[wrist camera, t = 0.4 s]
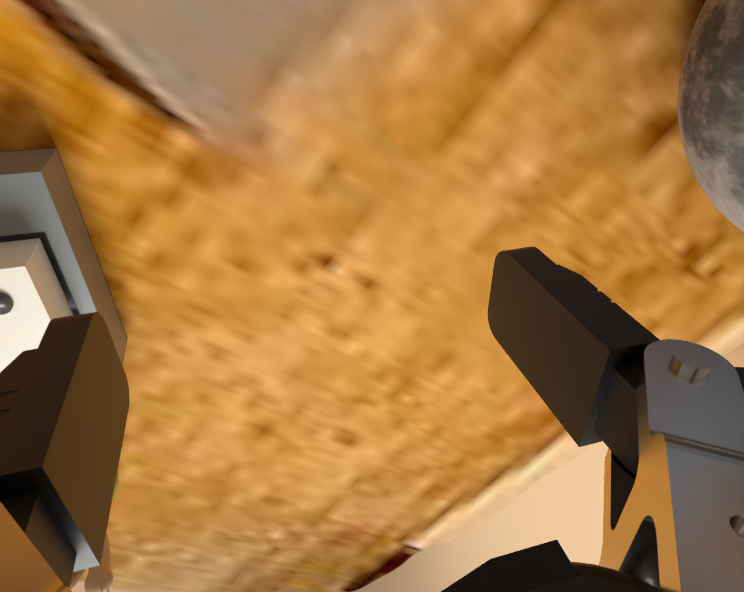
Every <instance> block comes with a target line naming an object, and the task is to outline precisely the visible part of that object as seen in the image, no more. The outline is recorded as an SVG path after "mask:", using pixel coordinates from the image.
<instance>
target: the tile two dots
mask: <svg viewBox="0 0 744 592" xmlns="http://www.w3.org/2000/svg"><path fill="white" fill-rule="evenodd" d="M66 316H73V313H72V311H71V309H70V306H69V304H68V302H67V299H66V297H65V295H64V293H63V290H62V288H61V286H60V283H59V281H58V279H57V277H56V274H55V272H54V270H53V267H52V265H51V263H50V261H49V258H48V256H47V254H46V251H45V249H44V247H43V245H42V242H41V240H40V238H36V239H27V240H18V241H9V242H1V243H0V372H1V371H2V370H3V369H4V368H6V367H7V366H8V365H9V364H10V363H11V362H12V361H13V360H14V359H15V358H16V357H17V356H18V355H20V354H21V353H22V352H23V351H26V350H32V349H37V348H38V346H39V344H40V342H41V340H42V337H43V335H44V333H45V331H46V328H47V326H48V324H49V322H50V321H51V320H52V319H54V318H60V317H66Z"/></svg>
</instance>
